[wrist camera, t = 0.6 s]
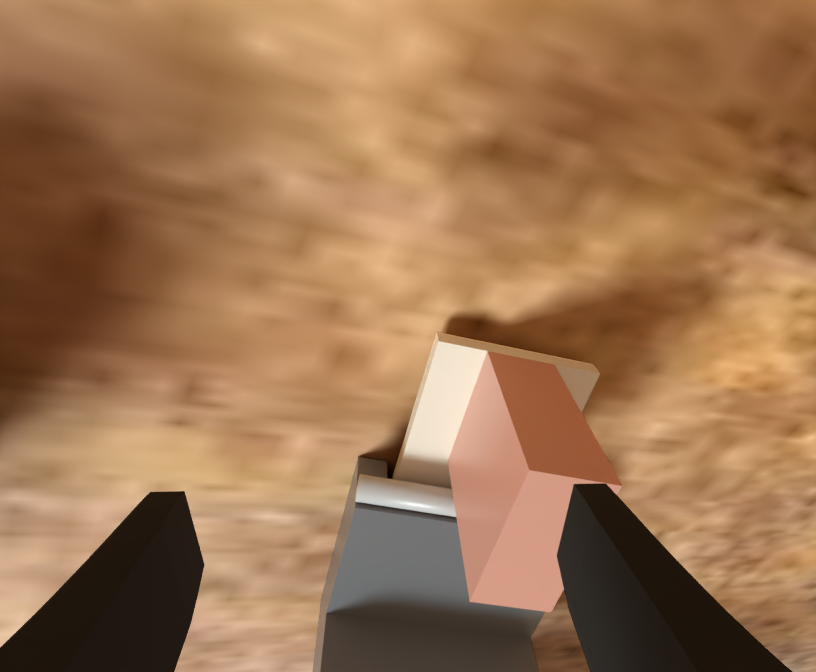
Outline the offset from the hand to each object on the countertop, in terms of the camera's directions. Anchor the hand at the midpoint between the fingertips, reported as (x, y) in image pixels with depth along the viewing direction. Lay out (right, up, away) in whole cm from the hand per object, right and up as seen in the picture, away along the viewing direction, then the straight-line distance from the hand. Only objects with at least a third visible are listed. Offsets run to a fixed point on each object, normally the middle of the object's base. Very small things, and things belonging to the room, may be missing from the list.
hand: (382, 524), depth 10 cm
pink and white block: (+3, -4, +12) cm, 13 cm away
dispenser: (+2, -6, +14) cm, 16 cm away
